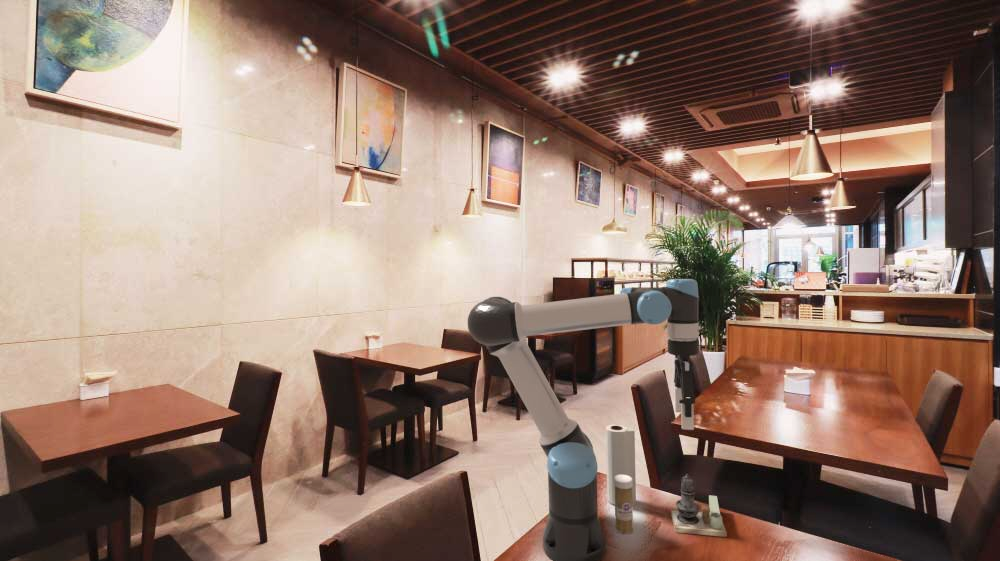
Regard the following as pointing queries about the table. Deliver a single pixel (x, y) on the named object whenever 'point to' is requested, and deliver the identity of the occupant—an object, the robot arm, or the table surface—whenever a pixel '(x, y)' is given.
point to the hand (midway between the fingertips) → (684, 420)
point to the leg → (715, 513)
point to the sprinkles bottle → (623, 503)
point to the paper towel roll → (620, 458)
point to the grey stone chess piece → (687, 503)
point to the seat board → (698, 524)
